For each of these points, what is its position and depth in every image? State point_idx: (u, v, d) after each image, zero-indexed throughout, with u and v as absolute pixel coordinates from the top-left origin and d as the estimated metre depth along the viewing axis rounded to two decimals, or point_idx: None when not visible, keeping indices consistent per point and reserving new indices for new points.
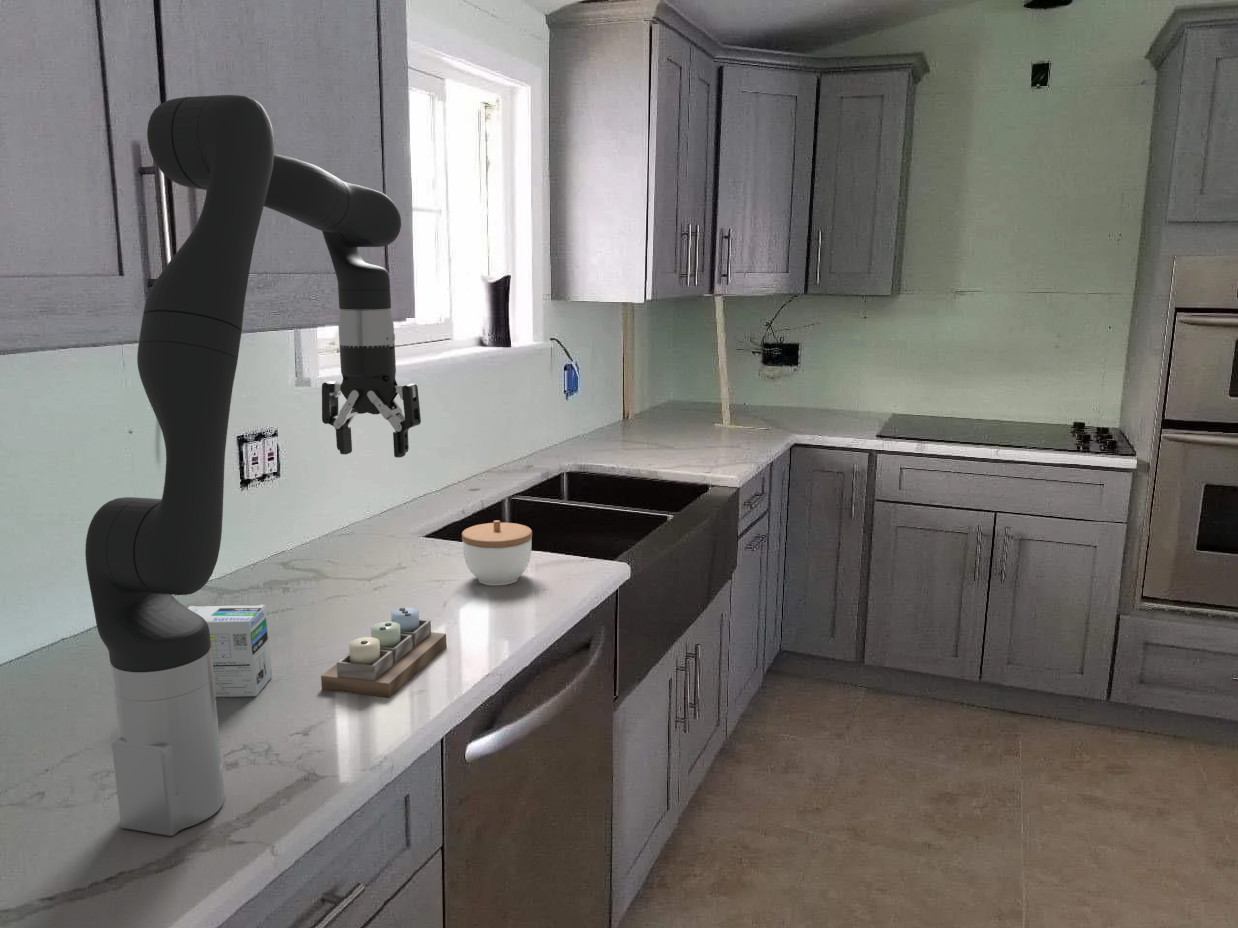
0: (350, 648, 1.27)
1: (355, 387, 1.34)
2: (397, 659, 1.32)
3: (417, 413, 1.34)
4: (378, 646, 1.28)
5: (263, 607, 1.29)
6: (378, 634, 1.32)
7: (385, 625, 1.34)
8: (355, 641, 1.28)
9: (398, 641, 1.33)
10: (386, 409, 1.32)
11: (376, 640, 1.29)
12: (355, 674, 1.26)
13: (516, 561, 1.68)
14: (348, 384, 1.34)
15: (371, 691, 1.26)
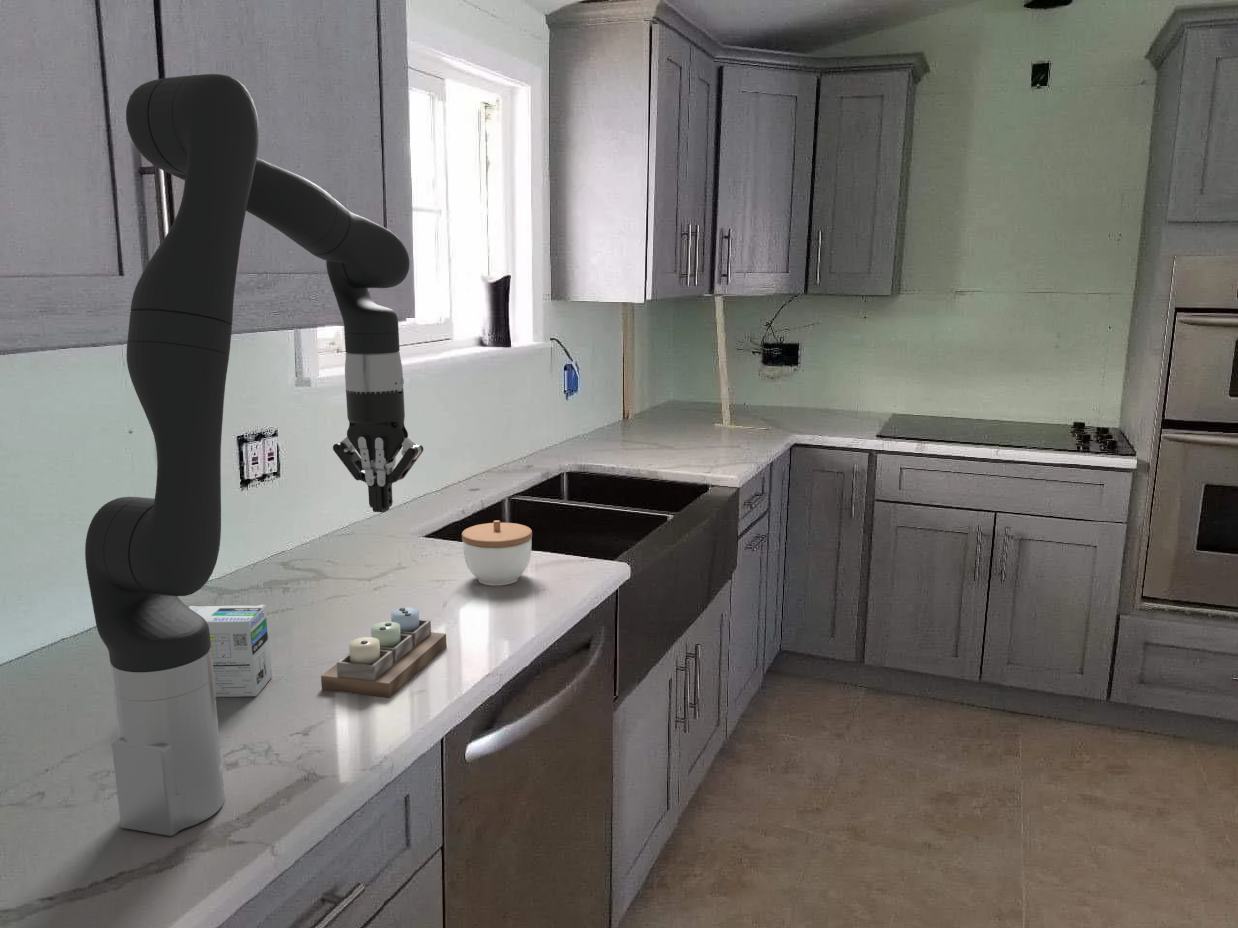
0: (350, 648, 1.27)
1: (362, 433, 1.28)
2: (397, 659, 1.32)
3: (406, 471, 1.30)
4: (378, 646, 1.28)
5: (263, 607, 1.29)
6: (378, 634, 1.32)
7: (385, 625, 1.34)
8: (355, 641, 1.28)
9: (398, 641, 1.33)
10: (383, 463, 1.27)
11: (376, 640, 1.29)
12: (355, 674, 1.26)
13: (516, 561, 1.68)
14: (351, 429, 1.28)
15: (371, 691, 1.26)
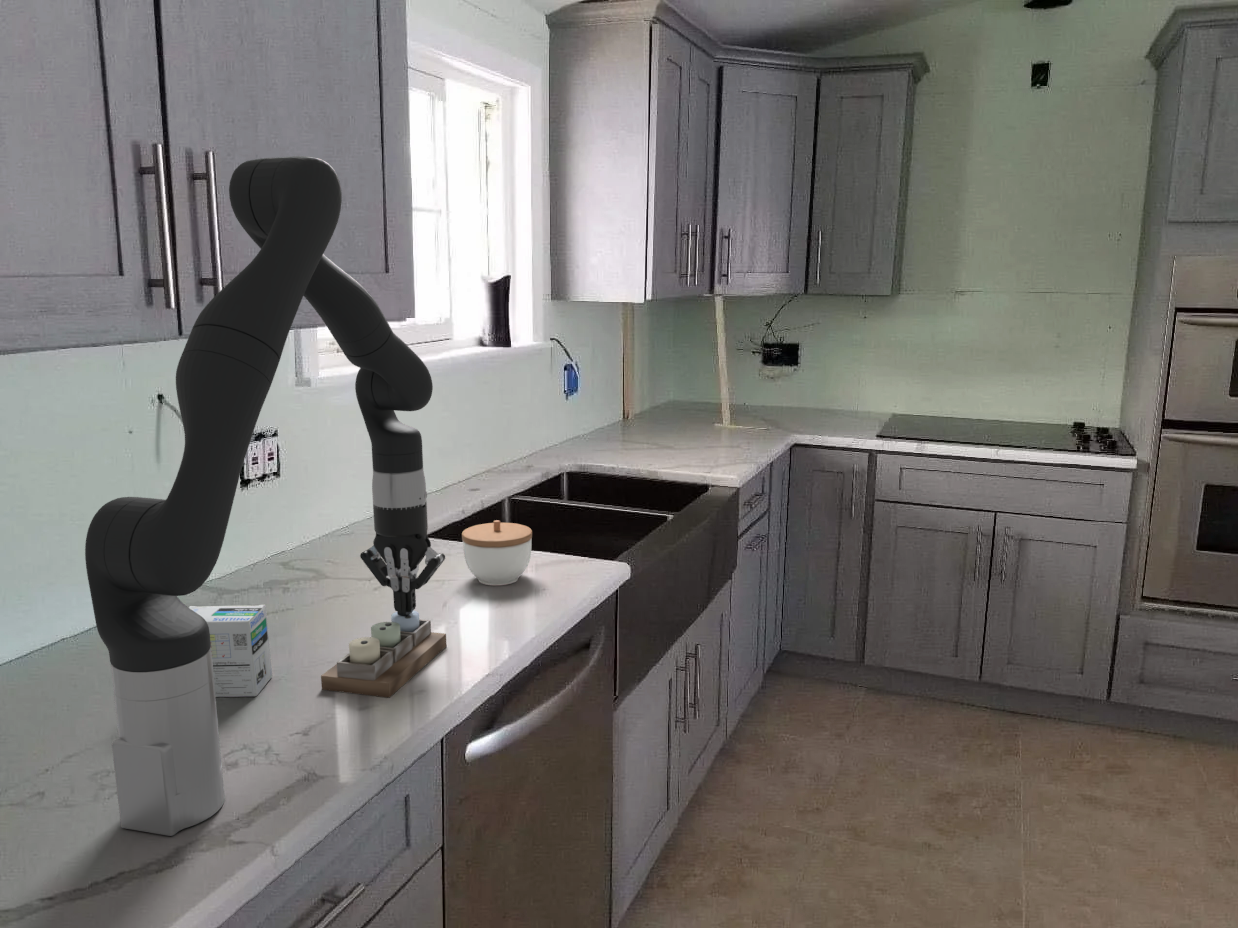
0: (350, 648, 1.27)
1: (388, 543, 1.37)
2: (397, 659, 1.32)
3: (428, 577, 1.38)
4: (378, 646, 1.28)
5: (263, 607, 1.29)
6: (378, 634, 1.32)
7: (385, 625, 1.34)
8: (355, 641, 1.28)
9: (398, 641, 1.33)
10: (407, 571, 1.36)
11: (376, 640, 1.29)
12: (355, 674, 1.26)
13: (516, 560, 1.68)
14: (378, 539, 1.37)
15: (371, 691, 1.26)
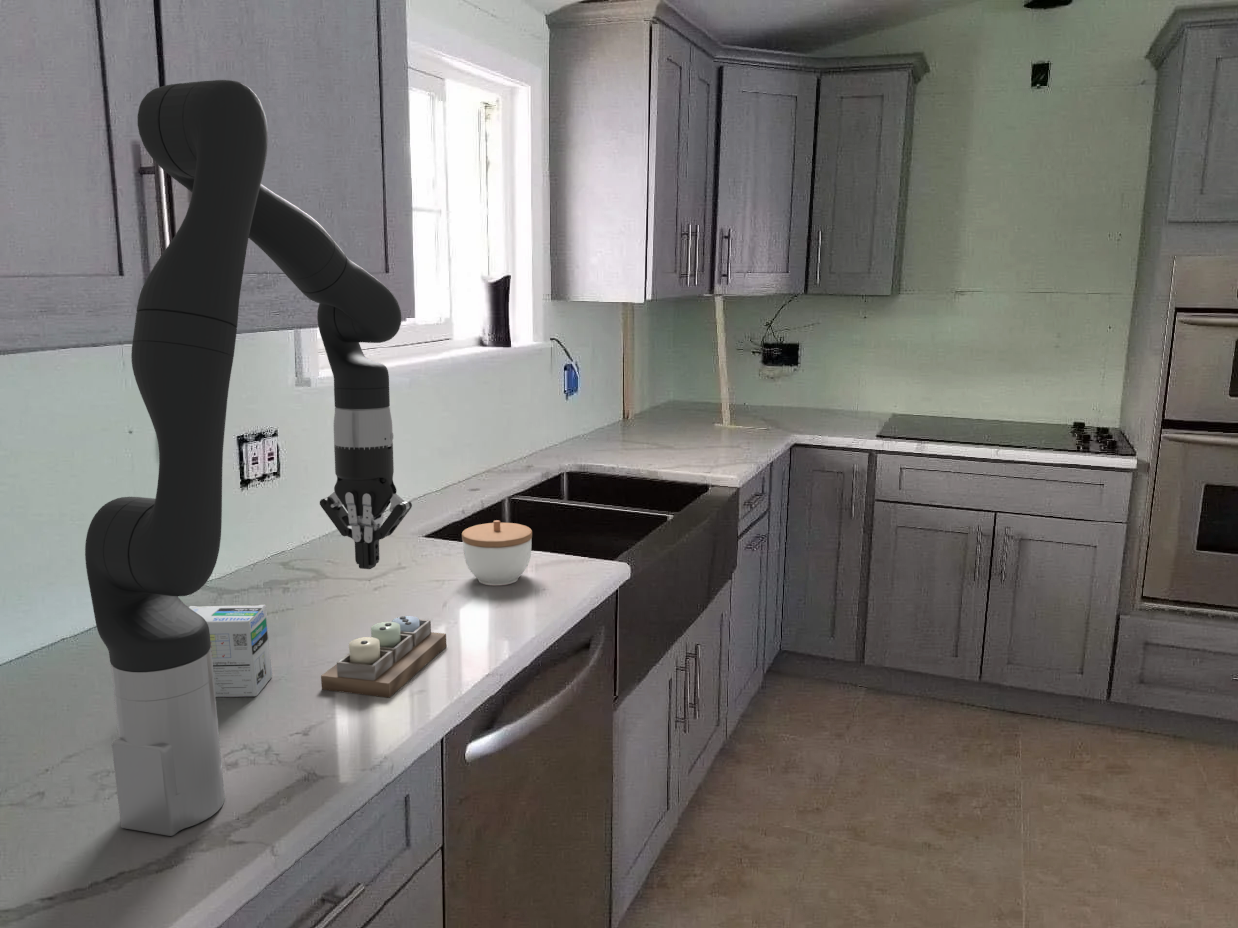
0: (350, 648, 1.27)
1: (350, 488, 1.26)
2: (397, 659, 1.32)
3: (393, 527, 1.27)
4: (378, 646, 1.28)
5: (263, 607, 1.29)
6: (378, 634, 1.32)
7: (385, 625, 1.34)
8: (355, 641, 1.28)
9: (398, 641, 1.33)
10: (370, 519, 1.25)
11: (376, 640, 1.29)
12: (355, 674, 1.26)
13: (516, 561, 1.68)
14: (339, 484, 1.26)
15: (371, 691, 1.26)
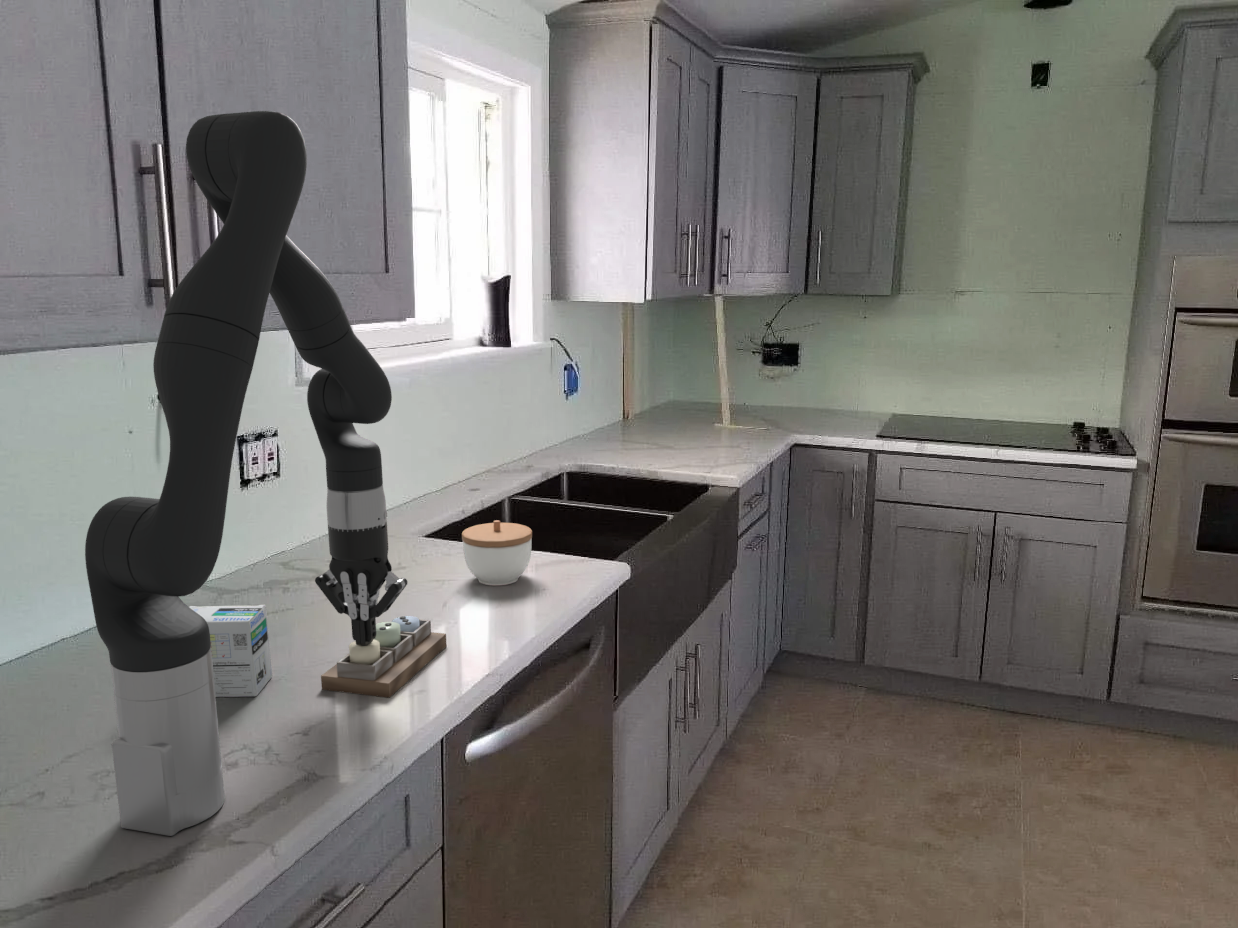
0: (350, 650, 1.27)
1: (345, 567, 1.25)
2: (397, 659, 1.32)
3: (389, 603, 1.27)
4: (378, 648, 1.28)
5: (263, 607, 1.29)
6: (378, 634, 1.32)
7: (385, 625, 1.34)
8: (355, 643, 1.29)
9: (398, 641, 1.33)
10: (366, 598, 1.25)
11: (376, 642, 1.29)
12: (355, 674, 1.26)
13: (516, 561, 1.68)
14: (334, 562, 1.26)
15: (371, 691, 1.26)
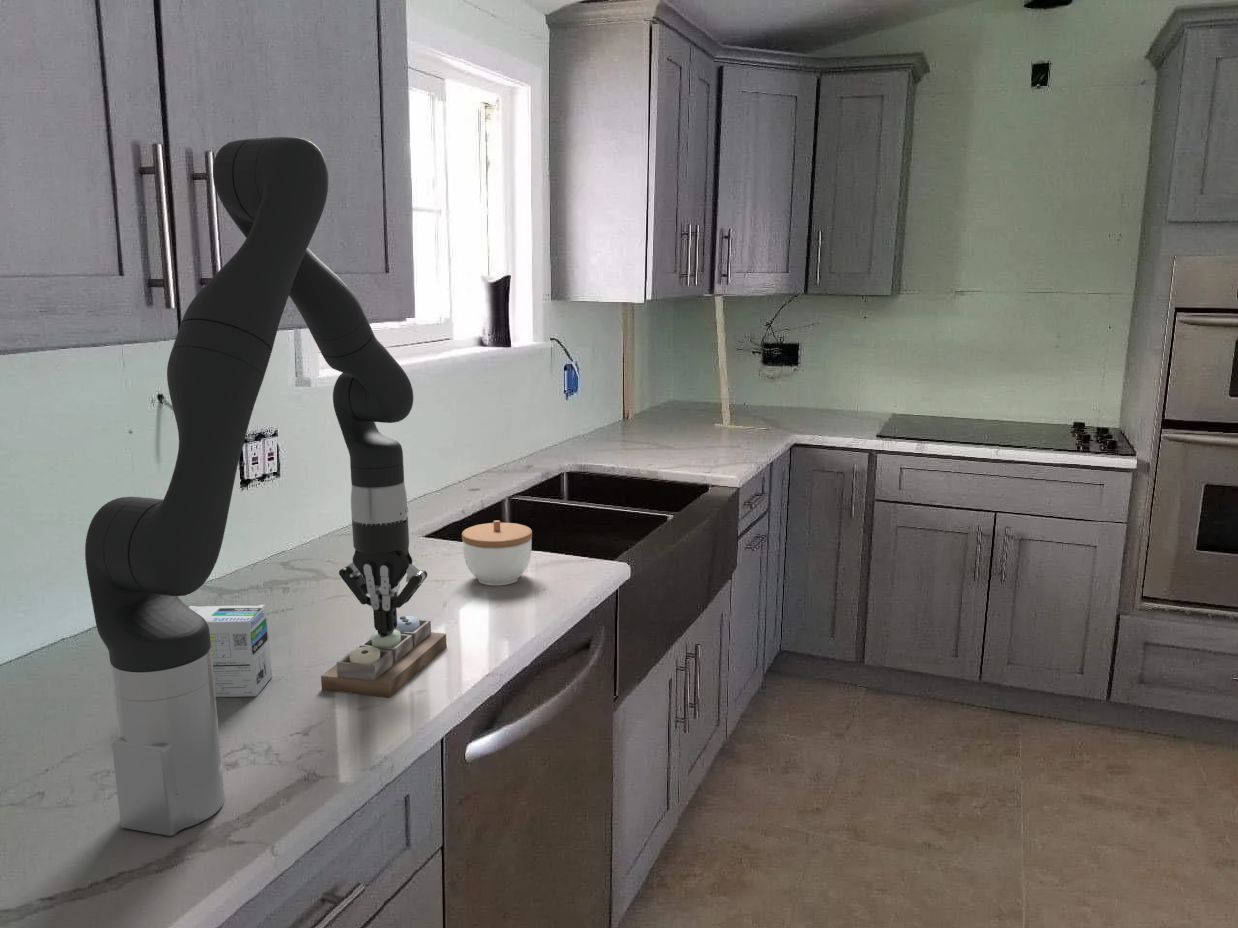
0: (350, 658, 1.27)
1: (368, 560, 1.31)
2: (397, 659, 1.32)
3: (410, 595, 1.33)
4: (379, 656, 1.28)
5: (263, 607, 1.29)
6: (379, 641, 1.32)
7: None
8: (356, 651, 1.29)
9: None
10: (388, 589, 1.31)
11: (377, 650, 1.29)
12: (355, 674, 1.26)
13: (516, 561, 1.68)
14: (357, 555, 1.31)
15: (371, 691, 1.26)
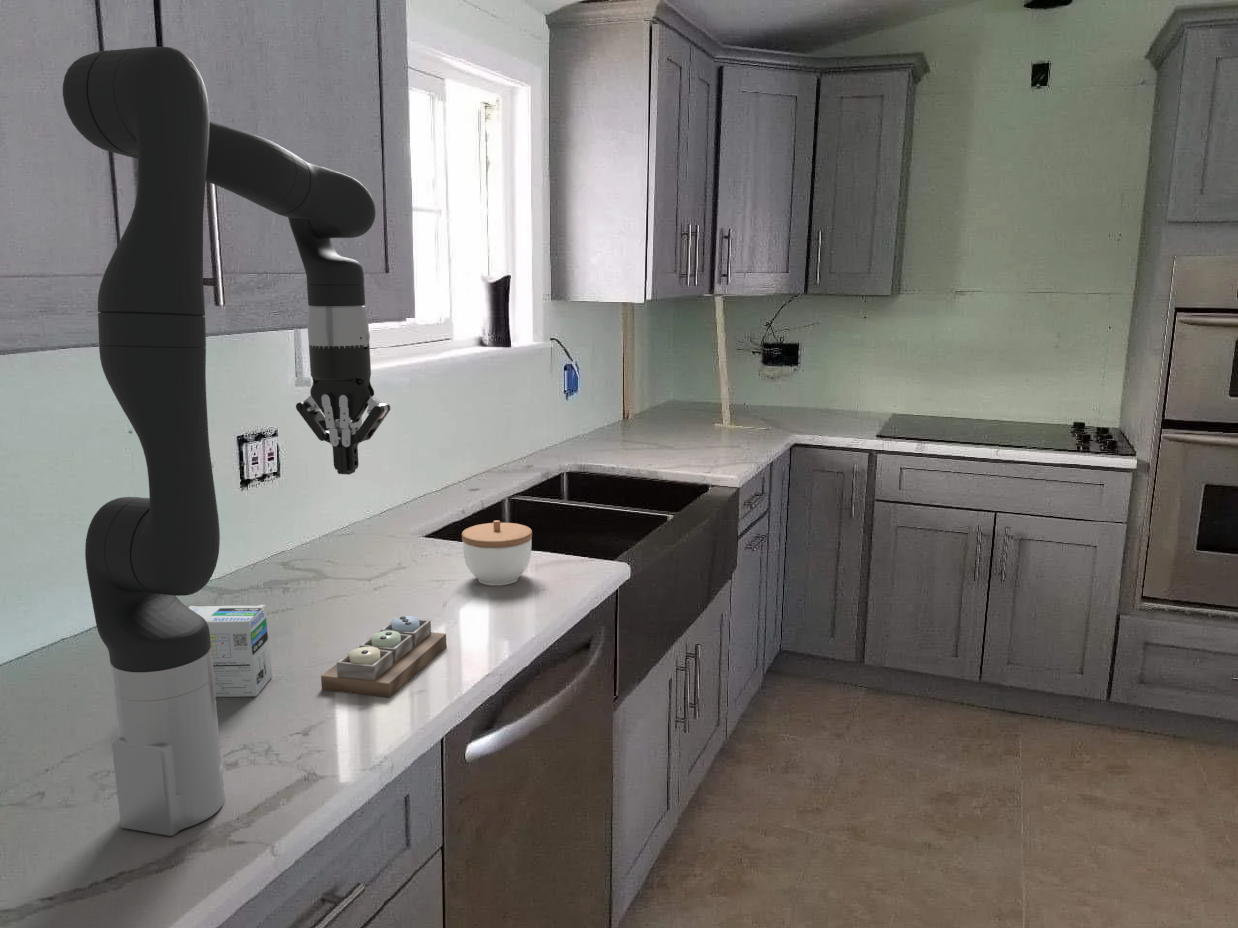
0: (350, 658, 1.27)
1: (326, 391, 1.22)
2: (397, 659, 1.32)
3: (372, 431, 1.24)
4: (379, 656, 1.28)
5: (263, 607, 1.29)
6: (379, 643, 1.32)
7: (385, 634, 1.34)
8: (356, 651, 1.29)
9: None
10: (347, 422, 1.22)
11: (377, 650, 1.29)
12: (355, 674, 1.26)
13: (516, 561, 1.68)
14: (315, 387, 1.23)
15: (371, 691, 1.26)
